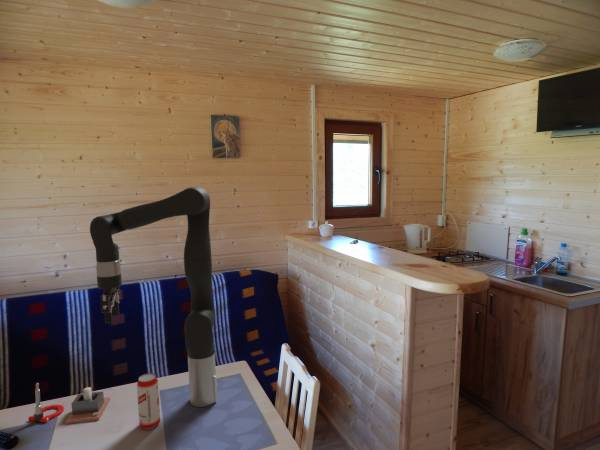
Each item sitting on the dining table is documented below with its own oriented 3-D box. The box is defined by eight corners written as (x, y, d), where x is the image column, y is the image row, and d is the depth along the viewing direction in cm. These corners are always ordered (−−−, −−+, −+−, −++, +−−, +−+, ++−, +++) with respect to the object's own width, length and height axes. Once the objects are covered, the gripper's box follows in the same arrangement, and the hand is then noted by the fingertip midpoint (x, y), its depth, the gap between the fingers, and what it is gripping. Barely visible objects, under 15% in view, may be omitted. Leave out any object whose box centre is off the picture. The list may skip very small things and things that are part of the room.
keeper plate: (109, 399, 138) (108, 378, 137) (99, 420, 126) (97, 397, 125) (79, 403, 136) (77, 381, 135) (65, 423, 125) (63, 400, 124)
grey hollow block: (104, 402, 135) (103, 391, 134) (98, 412, 129) (97, 401, 128) (79, 405, 133) (78, 394, 133) (72, 415, 127) (71, 403, 127)
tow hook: (48, 406, 135) (25, 421, 126) (46, 370, 134) (23, 383, 125) (69, 408, 134) (48, 424, 125) (68, 372, 133) (46, 385, 124)
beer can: (155, 416, 128) (152, 370, 126) (163, 424, 124) (161, 377, 122) (136, 424, 124) (133, 377, 122) (144, 433, 119) (141, 384, 117)
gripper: (114, 277, 126) (118, 325, 128) (125, 268, 140) (128, 311, 142) (89, 279, 125) (93, 327, 127) (103, 269, 139) (106, 313, 140)
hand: (112, 318), depth 134 cm, fingers open, 8 cm apart
